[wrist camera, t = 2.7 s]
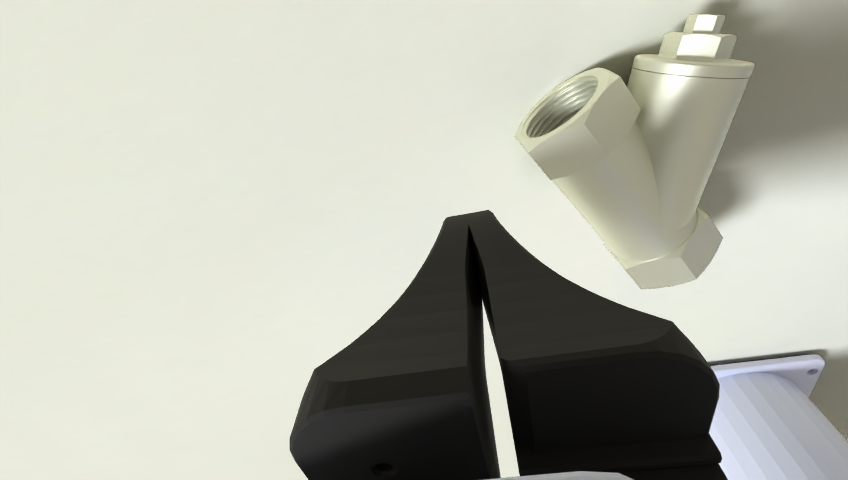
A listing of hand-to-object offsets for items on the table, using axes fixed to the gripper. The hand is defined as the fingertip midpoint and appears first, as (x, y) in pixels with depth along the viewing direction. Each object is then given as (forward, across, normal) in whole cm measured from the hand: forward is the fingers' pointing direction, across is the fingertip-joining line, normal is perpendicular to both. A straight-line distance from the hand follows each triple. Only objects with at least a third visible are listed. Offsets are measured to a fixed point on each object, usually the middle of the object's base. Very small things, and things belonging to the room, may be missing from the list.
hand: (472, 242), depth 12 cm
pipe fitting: (+6, -7, 0) cm, 9 cm away
